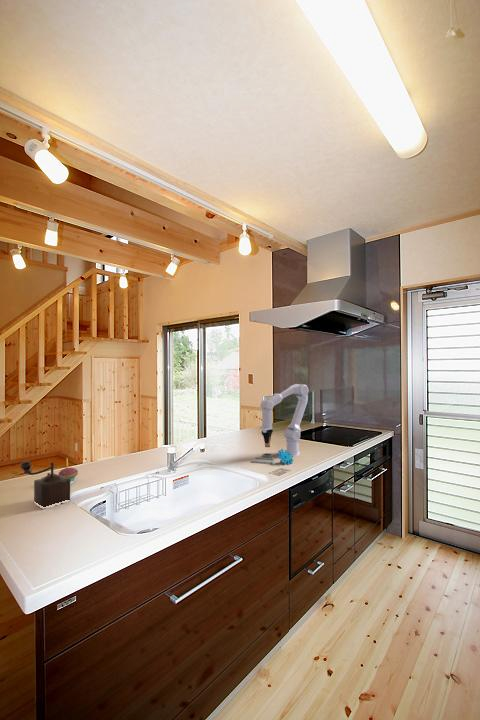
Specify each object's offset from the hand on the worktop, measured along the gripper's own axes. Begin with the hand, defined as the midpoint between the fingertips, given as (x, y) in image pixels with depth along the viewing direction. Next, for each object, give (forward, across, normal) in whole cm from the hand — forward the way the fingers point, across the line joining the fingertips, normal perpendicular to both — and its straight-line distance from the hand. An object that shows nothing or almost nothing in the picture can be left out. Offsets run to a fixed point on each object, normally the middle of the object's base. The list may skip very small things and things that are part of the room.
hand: (267, 442), depth 205 cm
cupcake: (+9, +70, -81) cm, 107 cm away
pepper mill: (+9, +93, -70) cm, 117 cm away
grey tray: (+9, +9, 0) cm, 13 cm away
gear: (+10, +8, +13) cm, 18 cm away
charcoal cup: (+9, 0, 0) cm, 9 cm away
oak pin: (+2, 0, 0) cm, 2 cm away
